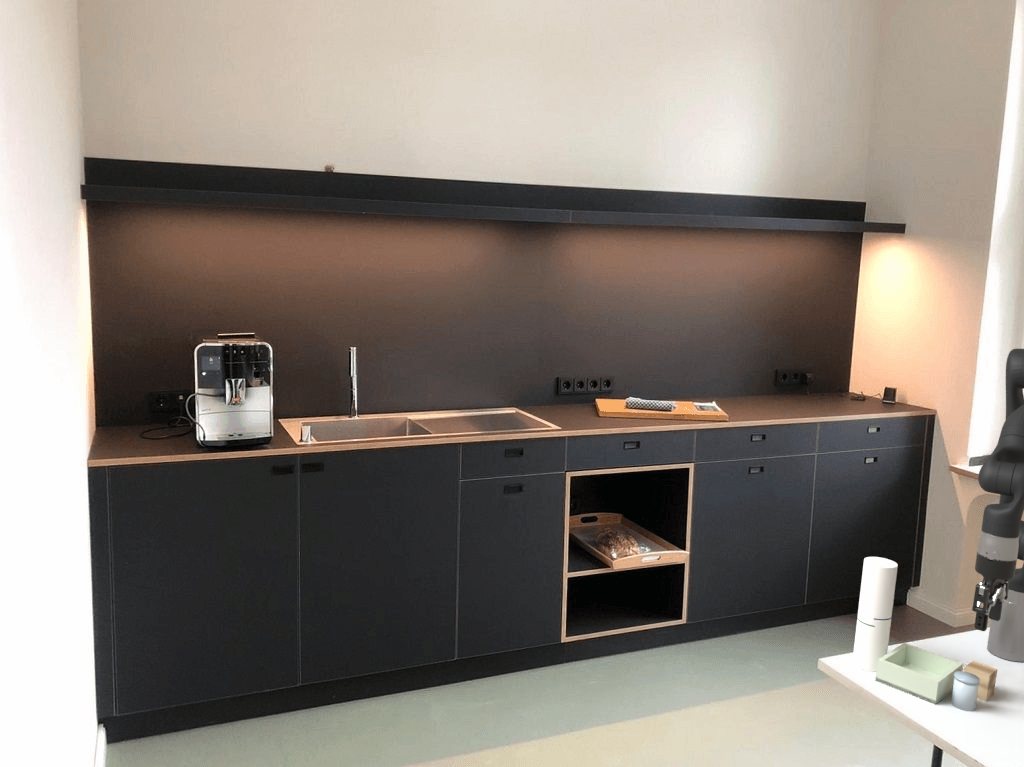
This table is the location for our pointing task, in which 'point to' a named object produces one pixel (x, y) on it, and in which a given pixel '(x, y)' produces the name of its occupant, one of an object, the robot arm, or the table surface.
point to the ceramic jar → (965, 691)
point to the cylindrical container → (874, 612)
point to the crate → (918, 672)
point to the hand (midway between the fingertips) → (987, 624)
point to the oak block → (983, 679)
